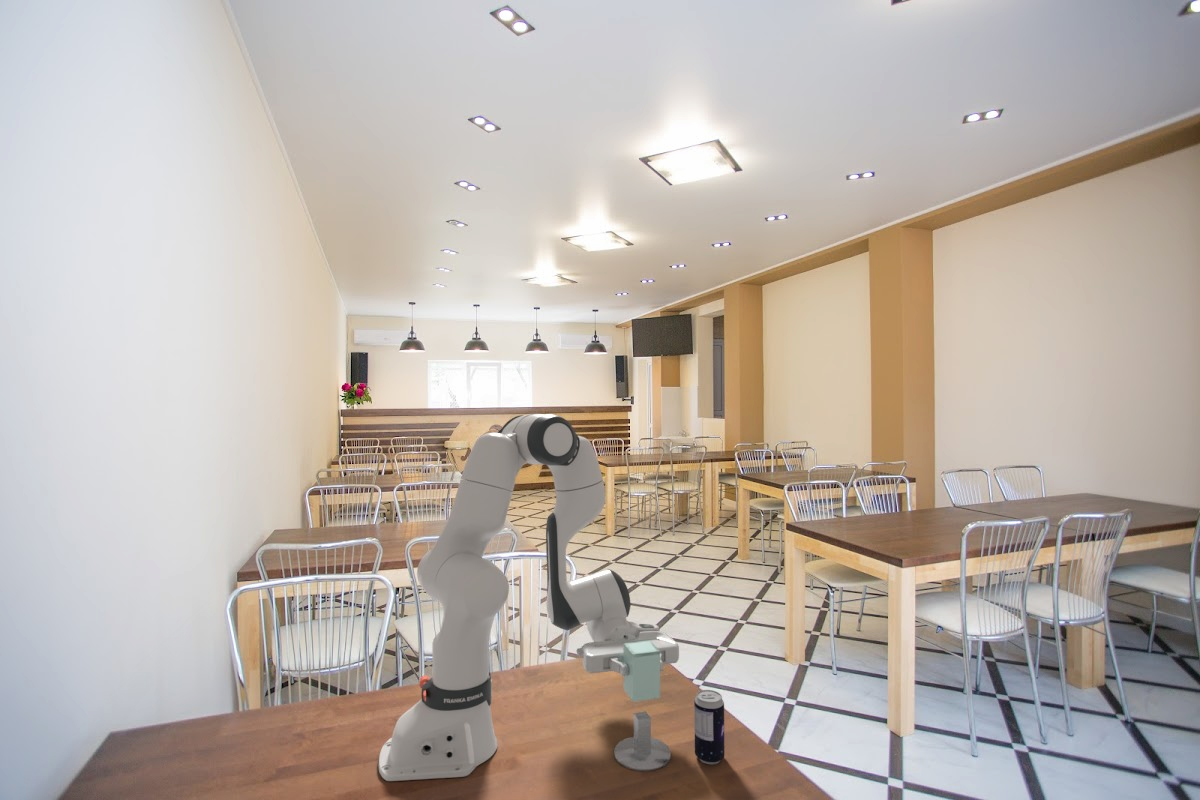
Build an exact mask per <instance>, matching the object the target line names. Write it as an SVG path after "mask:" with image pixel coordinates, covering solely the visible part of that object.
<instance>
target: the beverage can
mask: <svg viewBox="0 0 1200 800" xmlns="http://www.w3.org/2000/svg"><path fill="white" fill-rule="evenodd" d="M693 704H694V710H693V711H694V712H693V713H694V754H695V756H696V757H697V758H698V760H699V761H700V762H701V763H703V764H706V765H717V764H719V763H720V762H721V761H722V760H723V759H724V758H725V756H726V755H725V753H726V752H725V701H724V700H723V696H722V694H721V693H719V692H718V691H716V690H713V689H702V690H699V691H697V693H696V697H695V698H694V703H693Z"/></svg>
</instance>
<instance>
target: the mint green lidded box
mask: <svg viewBox="0 0 1200 800" xmlns="http://www.w3.org/2000/svg"><path fill="white" fill-rule="evenodd" d="M623 663H627V664H628V665H629V669H630V670H629V672H630V674H629V675H625V676H622V677H623V680H622V681H623V682H622V683H623V691H624V692H625V693H626V695H627V696H628V698H630V700H631V702H632V703H636V702H642V701H643V702H644V701H650V700H656V699H660V698H661V671H660V650H659V649H658V648H657V647H656V646H655V645H654V644H653V643H652V642H651V641H650V640H649V641H641V642H632V643H624V644H623Z"/></svg>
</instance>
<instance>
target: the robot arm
mask: <svg viewBox="0 0 1200 800" xmlns="http://www.w3.org/2000/svg"><path fill="white" fill-rule="evenodd" d="M599 463H600V462H599V460H598V457H597V454H596V451H595V450H594V447H593V444H592V442H590V440H589V439H588V438H586V437H584V436H582V435H578V434H577V432H576V431H575V429H574V427H573V426H572V424H571V423H570V422H569V421H568V420H567V419H566V418H564V417H563V416H560V415H557V414H552V413H547V414H543V413H536V412H535V413H529V414H525V415H523V414H521V415H517V416H514V417H512V418H510V419H509V420H508V421H506V422H505V424H504V425H502V427H501V429H500V430H499V431H498V432H487V433H484V434H482V435H480V436H479V437H477V438H476V441H475V442H474V444H473V446H472V448H471V451H470V453H469V455H468V456H467V459H466V462H465V464H464V467H463V470H462V473H461V477H460V480H459V483H458V487H457V491H456V494H455V497H454V501H453V504H452V506H451V507H452V508H451V511H450V513H449V516H448V518H447V521H446V523H445V525H444V527H443V528H442V531H441V533H440V535H439V536H438V538H437V539H436V541H435V543H434V545H433V547H432V548H431V549H429V550H428V551H427V552H426V553H425V554H424V555H423V556H422V558H421V559H420V561H419V562H418V565H417V568H416V569H417V572H416V576H417V577H416V578H417V579H418V582H419V584H420V586H421V588H422V589H423V590H424V592H425V593H426V594H427V595H428V596H429V597H430V598H431V599H433V600H435V601H437V602H438V603H440V604H441V605H442V609H443V610H442V611H443V616H442V622H441V625H440V629H439V631H438V633H436V635H435V636H434V638H433V639H432V640H433V641H432V645H431V646H432V647H431V648H432V649H431V650H432V651H431V652H432V656H431V657H432V659H431V660H432V663H431V667H432V671H431V672H432V674H431V676H432V677H431V678H430V677H429V675H422V676H421V677H420V678H419V680H418V681H419V683H418V684H419V688H420V689H421V699H420V700H418V701H417V702H416V703H415V704H414V705H412V707H410V708H409V709H408V710H407V711H405V712H404V713H403V714H401V715H400V716H399V718H398V720H397V721H396V723H395V726H394V729H393V731H392V737H390V738H389V739H388V740H387V741H386V742H385V743H384V744H383V745H382V747H381V750H380V752H379V757H378V772H379V775H380V776H381V778H382V779H383V780H385V781H386V782H399V781H411V780H412V781H414V780H430V779H446V778H463V777H464V778H465V777H467V776H469V775H470V774H471V773H473V771H474V770H475V769H476V768H477V767H478V766H479V765H481V764H482V763H485V762H486V761H488V760H489V759H490V758H491V757H492V756H493V755H494V754H495V753H496V750H497V748H498V740H497V737H496V734H495V730H494V725H493V717H492V710H491V704H492V698H493V683H492V682H493V681H492V676H491V672H490V638H491V632H492V627H493V623H494V620H495V617H496V616H497V614H498V613H499V612H500V611H501V610H502V609H503V607H504V606H505V604H506V603H507V600H508V598H509V591H510V590H509V589H510V584H509V580H508V577H507V576H506V574H505V573H504V572H503V571H502V570H501V569H500V568H499V567H498V566H497V565H495V563H494V562H492V561H491V560H488V559H485V558H483V556H484V553H485V551H486V550H487V548H488V545H489V544H490V543H491V541H492V540H493V538H494V537H495V536H497V535H498V534H499V533H500V532H501V531H502V530H503V529H504V526H505V522H506V518H507V516H508V511H509V508H510V503H511V500H512V497H513V492H514V489H515V485H516V478H517V477H518V474H519V472H520V470H521V469H522V468H523V466H524V465H525V464H529V465H532V466H533V465H535V466H536V465H537V466H540V465H541V466H543V465H545V466H547V467H548V469H549V470H550V473H551V474H552V479H553V485H554V488H555V489H554V491H555V494H556V495H555V505H554V506H553V507H554V508H553V511H552V512H551V513H550V514H549V515H548V516H547V519H546V523H545V525H546V526H545V547H546V548H545V549H546V550H545V551H546V552H545V554H546V580H547V581H546V583H547V587H546V601H545V602H546V603H545V604H546V612H547V614H548V618H549V620H550V622H551V624H552V625H553V626H555V627H557V628H559V629H561V630H564V631H570V630H572V629H574V628H577V627H579V626H581V624H584V623H585V624H586V628H587V631H588V634H589V636H590V638H591V639H592V642H586V643H584V644H583V645H581V647H580V648H577V649H576V654H577V656H578V657H579V658H582V665H583V668H584V670H585V672H586V673H589V674H599V673H605V672H607V673H608V672H615V673H617V674H619V675H620V676H621V677H623V676H625V675H629V674H630V672H629V670H630V669H629V665H628V664H627V663H623V644H624V643H632V642H641V641H649V640H650V641H651V642H652V643H653V644H654V645H655V646H656V647H657V648H658V649H659V650H660V672H663V671H664V665H669V664H676V663H678V661H679V659H680V645H679V644H678V643H677V641H676V640H674V639H673V638H672V637H671V635H669V634H668V633H667V632H666V633H665V632H663V631H661V630H660V627H659V625H657V624H648V623H647V624H646V623H637V622H633V621H628V619H627V618H628V617H629V614H630V610H631V597H630V592H629V589H628V586H627V585H626V582H625V581H624V579H623V578H622V577H621V575H619V574H618V573H617V572H615V571H614V570H612V569H609V568H606V569H603V570H601V571H596V572H594V573H590V574H588V575H584V576H582V577H579V578H576V579H575V578H574V579H572V580H567V579H568V578H567V554H566V553H567V547H568V545H569V543H570V541H571V540H572V539H573V538H574V537H575V536H576V535H577V534H578V533H579V532H580V531H582V529H584V528H586V527H587V526H588V525H590V524H592V523H593V522H594V521H595V520H596V519H597V517H598V516H599V515H600V514H601V512H602V511H603V509H604V506H605V503H606V490H605V484H604V483H605V482H604V480H603V474H602V470H601V467H600V464H599Z"/></svg>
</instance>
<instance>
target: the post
mask: <svg viewBox="0 0 1200 800" xmlns="http://www.w3.org/2000/svg"><path fill="white" fill-rule="evenodd" d="M651 722H652V717H651V716H650V715H649V713H648V712H647V711H639V712H634V713H633V736H631V737H627V738H623V739H622V740H620V741H619V742H618V743H617V744H616V745H615V747H614V752H613V754H614V758H615V760H616V761H617V762H618V764H619V765H620V766H623V767H624V768H626V769H629V770H631V771H636V772H651V771H656V770H660V769H661V768H663V767H665V766H666V765H668V764H669V762H670V760H671V755H672V754H671V749H670V748H669V746H668V745H667V744H666V742H664V741H662V740H660V739H658V738H656V737H652V723H651Z"/></svg>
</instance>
